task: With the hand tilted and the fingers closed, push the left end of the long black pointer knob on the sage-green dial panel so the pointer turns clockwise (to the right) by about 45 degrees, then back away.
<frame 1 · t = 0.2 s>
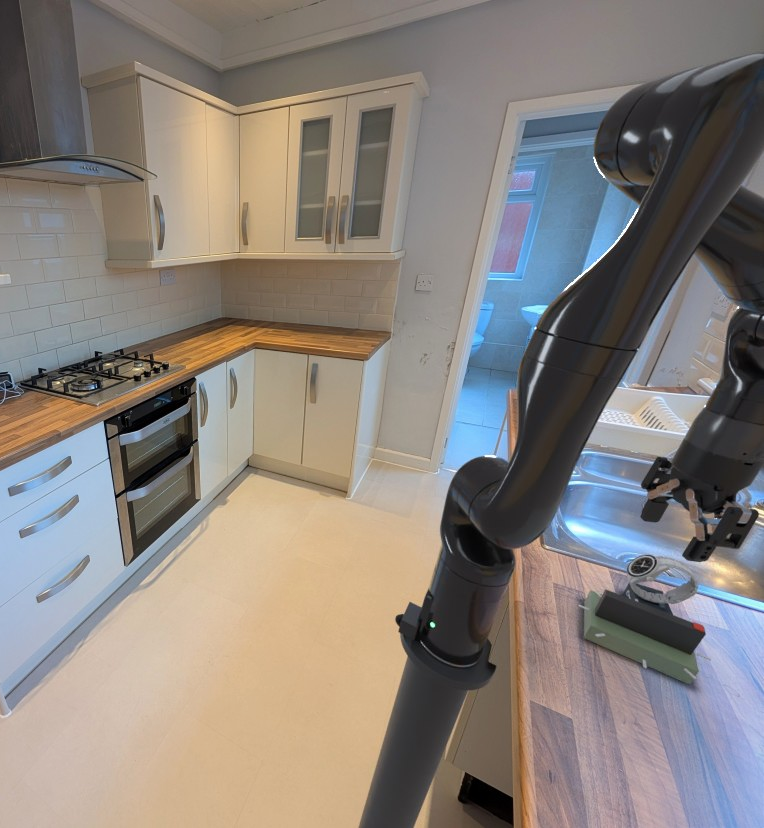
hand: (669, 539, 63), 18 cm above the countertop, tool pointing down, fingers open, 8 cm apart
watch: (641, 611, 73), on the countertop
pointer: (646, 620, 65), point 5 cm above the countertop, hinge at 0.0°
dial panel: (631, 639, 68), on the countertop
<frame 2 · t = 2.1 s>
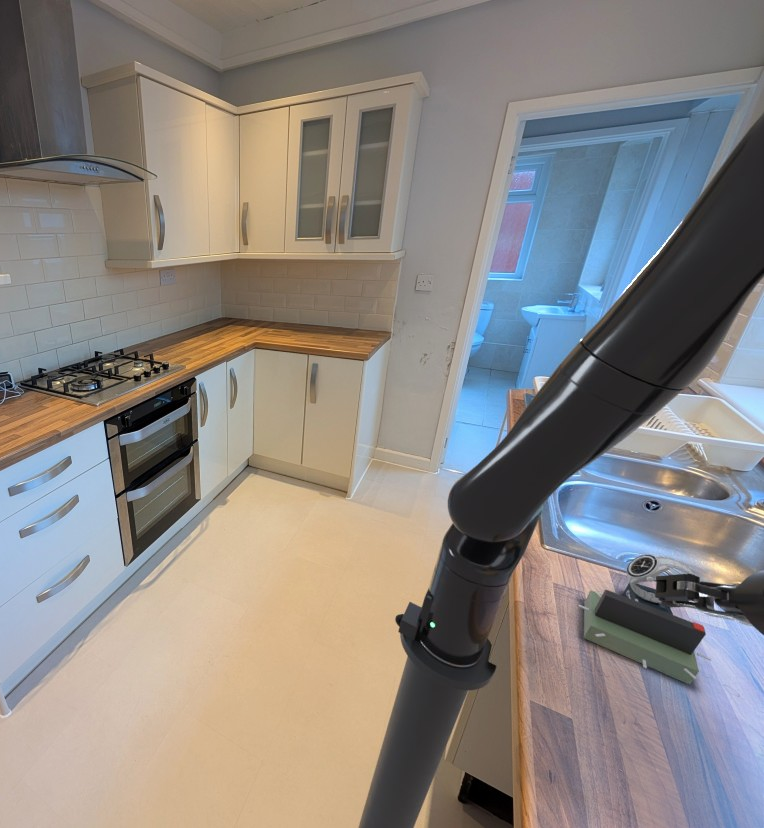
hand: (712, 611, 51), 19 cm above the countertop, tool tilted 45°, fingers open, 8 cm apart
nothing on the countertop moved.
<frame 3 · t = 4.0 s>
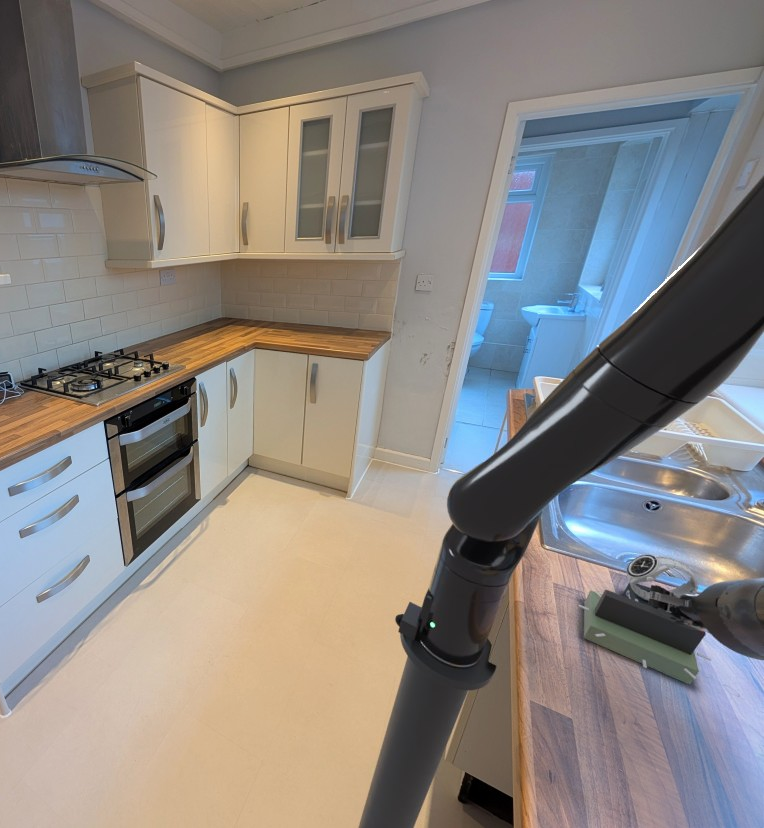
hand: (682, 618, 55), 14 cm above the countertop, tool tilted 45°, fingers closed
nothing on the countertop moved.
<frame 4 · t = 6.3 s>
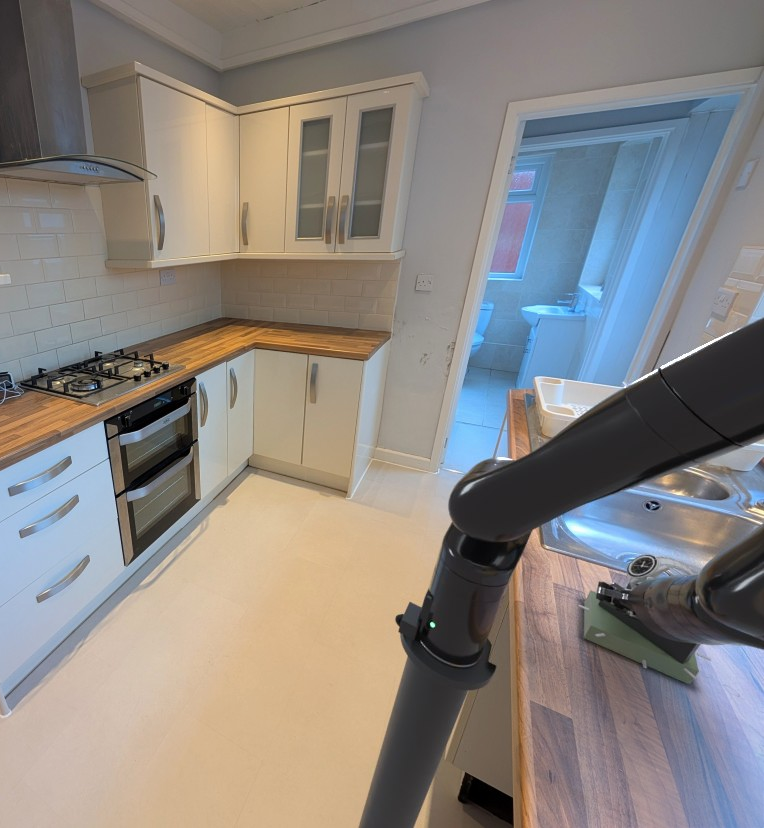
hand: (628, 609, 66), 6 cm above the countertop, tool tilted 45°, fingers closed
pointer: (646, 620, 65), point 5 cm above the countertop, hinge at -32.0°, touching gripper
everything else where it was.
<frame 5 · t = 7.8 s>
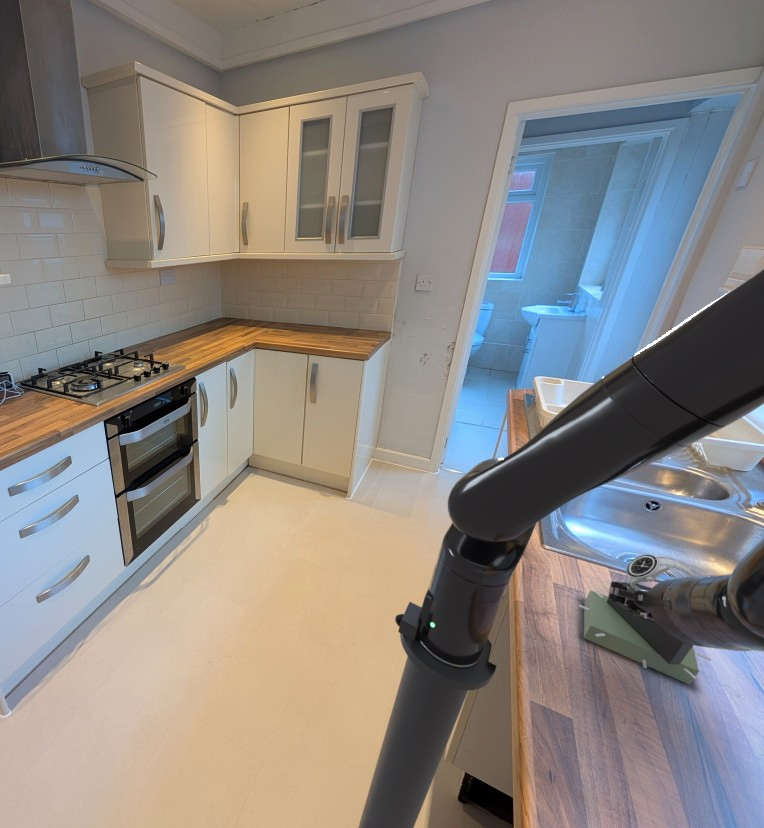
hand: (640, 611, 62), 9 cm above the countertop, tool tilted 45°, fingers closed
pointer: (646, 620, 65), point 5 cm above the countertop, hinge at -52.5°
everything else where it was.
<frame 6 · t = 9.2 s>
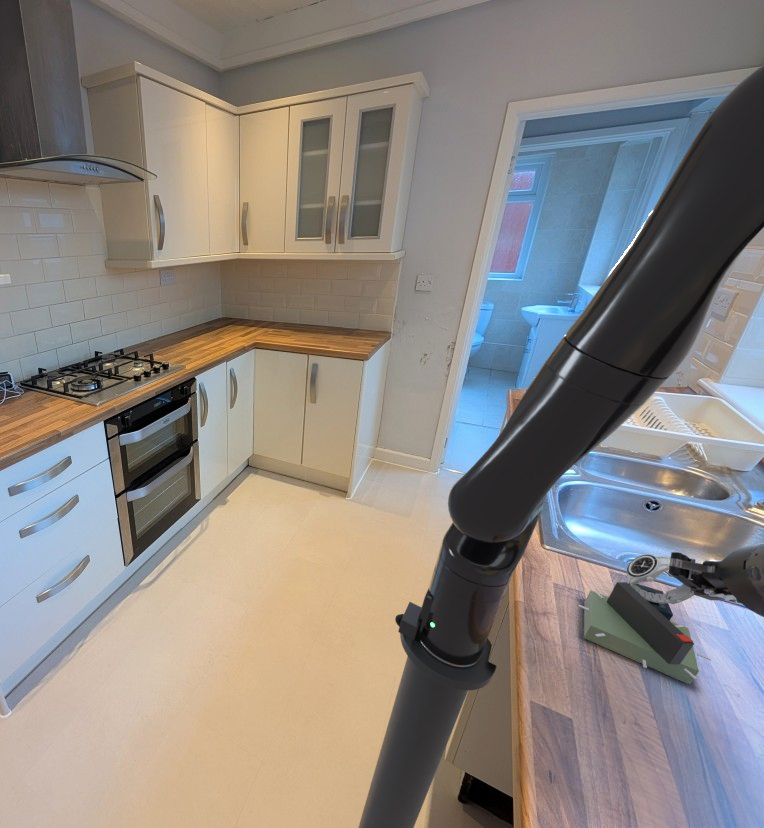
hand: (701, 589, 53), 19 cm above the countertop, tool tilted 45°, fingers closed
nothing on the countertop moved.
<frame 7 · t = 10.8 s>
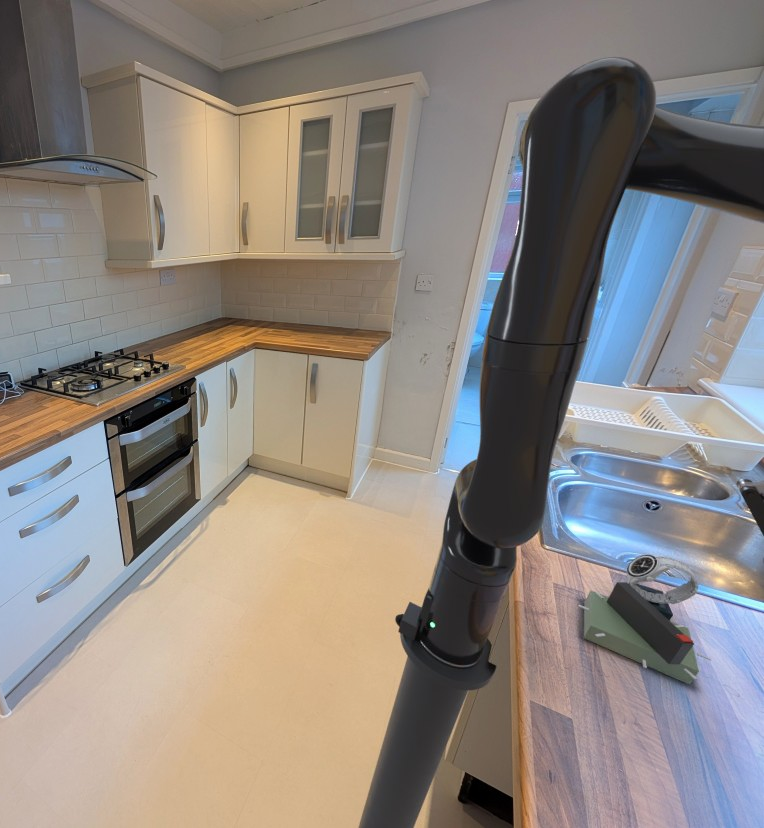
nothing on the countertop moved.
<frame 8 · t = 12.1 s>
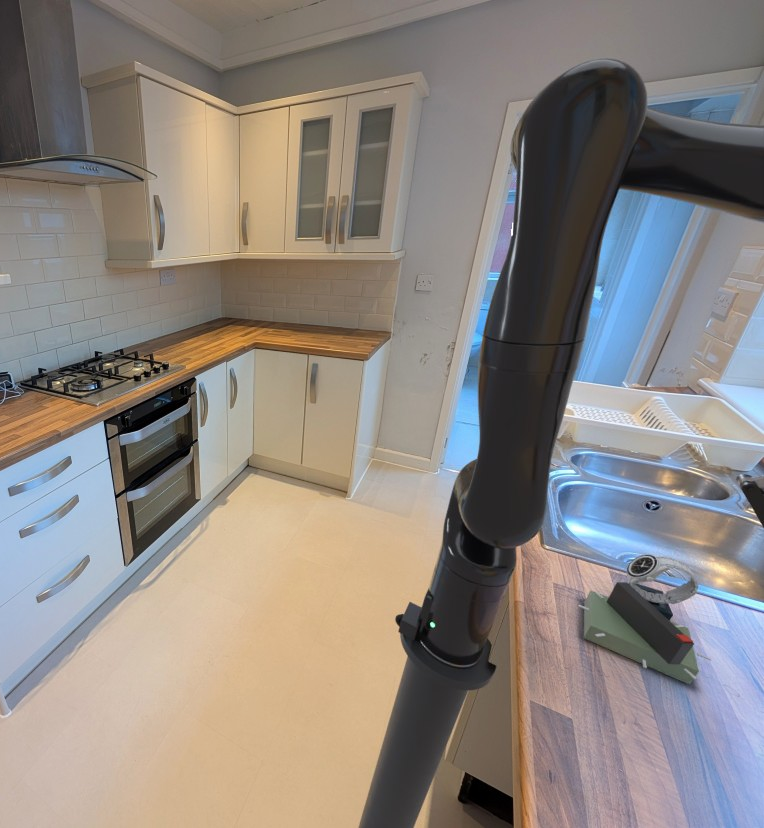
nothing on the countertop moved.
at the end: pointer at -52° (first picture: +0°); watch moved 0.2 cm from its start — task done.
